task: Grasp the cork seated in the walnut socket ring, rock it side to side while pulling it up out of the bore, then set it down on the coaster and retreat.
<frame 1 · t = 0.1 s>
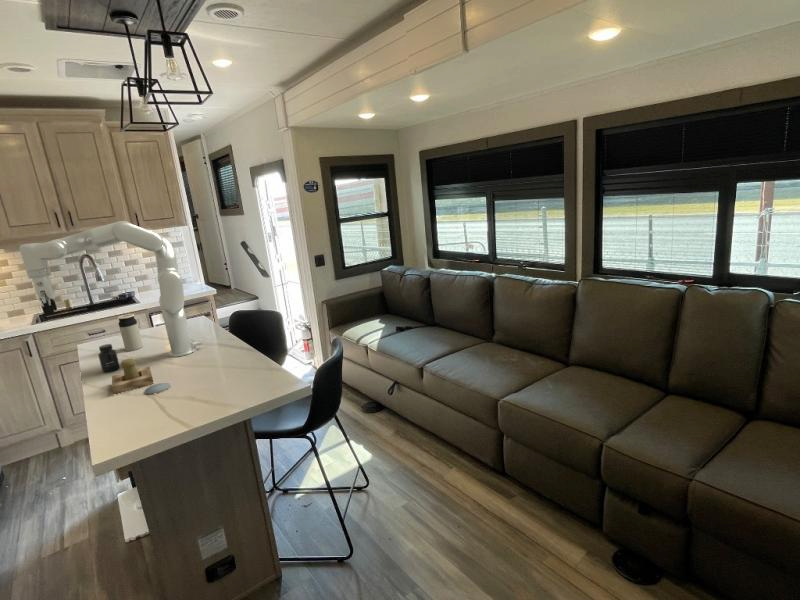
hand: (51, 312, 180), 31 cm above the countertop, tool pointing down, fingers open, 9 cm apart
cork: (133, 384, 178), resting in socket ring
supplement bottle: (111, 370, 196), on the countertop
socket ring: (133, 383, 178), on the countertop
coaster: (157, 389, 171), on the countertop
travel mug: (134, 348, 224), on the countertop
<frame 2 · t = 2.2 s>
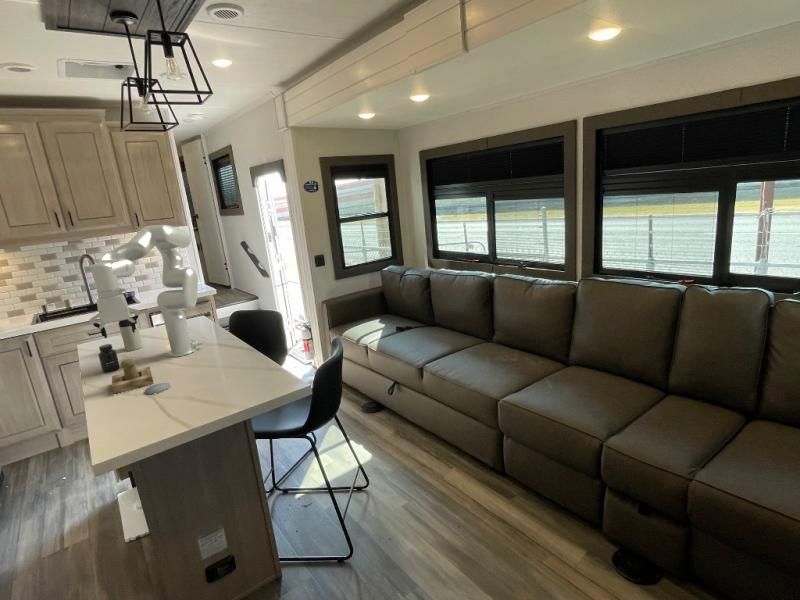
hand: (120, 334, 172), 22 cm above the countertop, tool pointing down, fingers open, 9 cm apart
nothing on the countertop moved.
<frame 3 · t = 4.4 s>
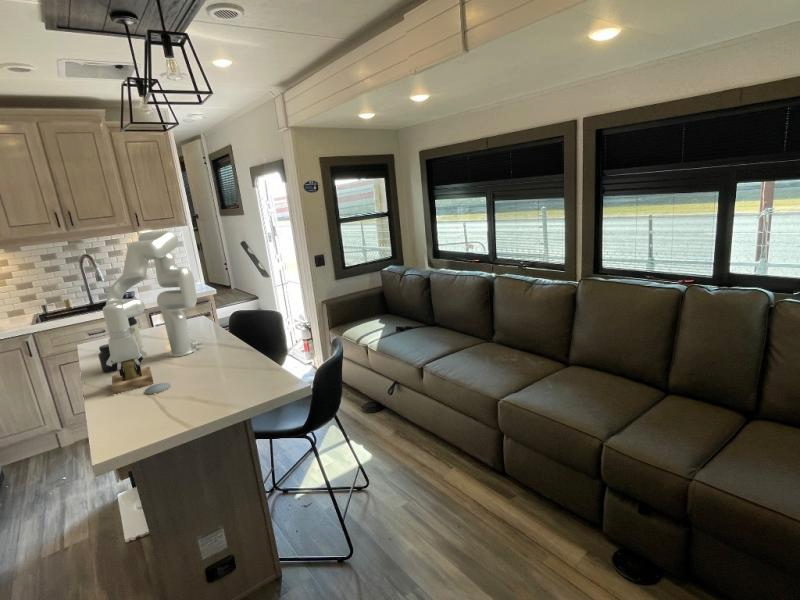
hand: (131, 374, 177), 4 cm above the countertop, tool pointing down, fingers closed on cork, 4 cm apart
cork: (133, 384, 178), resting in socket ring, touching gripper
everything else where it was.
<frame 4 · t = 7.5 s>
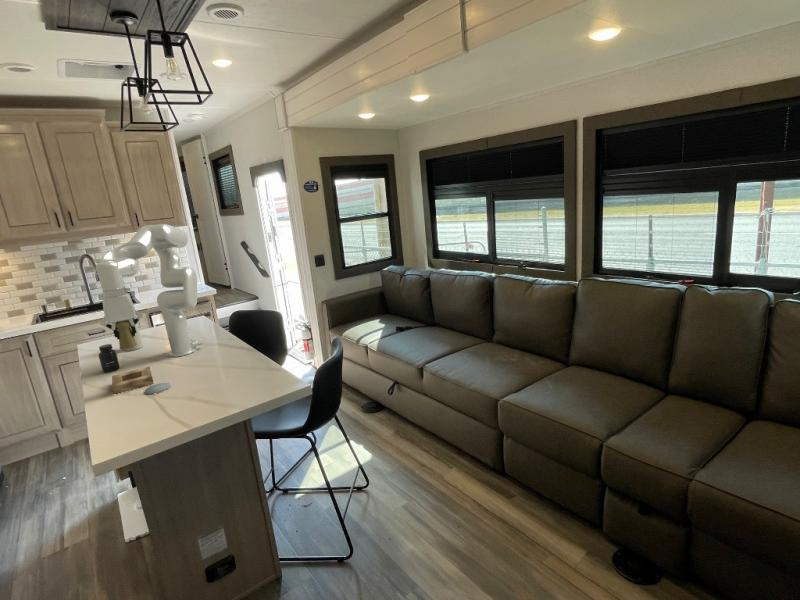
hand: (126, 336, 171), 21 cm above the countertop, tool pointing down, fingers closed on cork, 4 cm apart
cork: (128, 347, 172), point 17 cm above the countertop, touching gripper
everything else where it was.
when the fingers open (6 cm above the countertop, at t = 10.9 s): cork drops 1 cm, resting on coaster.
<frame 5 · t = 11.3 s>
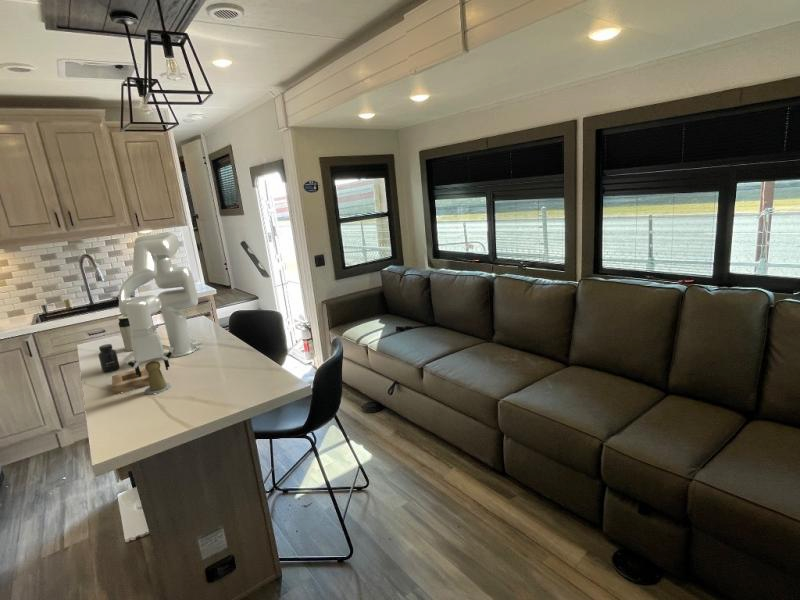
hand: (153, 372, 169), 7 cm above the countertop, tool pointing down, fingers open, 9 cm apart
cork: (158, 388, 171), resting on coaster
everything else where it was.
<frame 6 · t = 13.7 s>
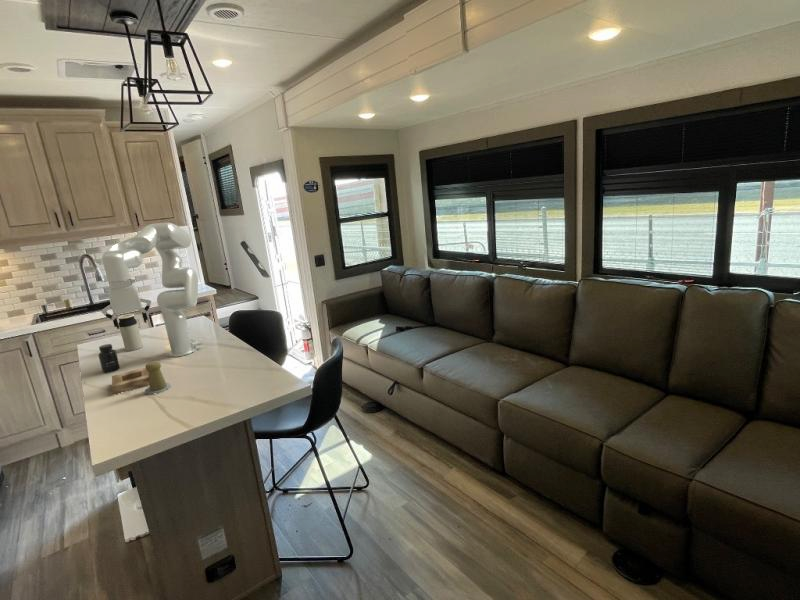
hand: (132, 325, 173), 25 cm above the countertop, tool pointing down, fingers open, 9 cm apart
nothing on the countertop moved.
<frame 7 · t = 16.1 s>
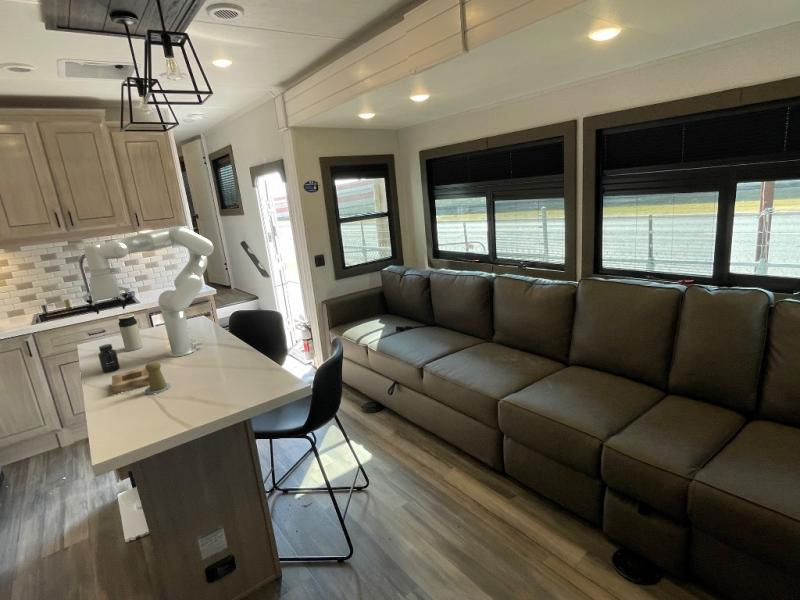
hand: (111, 310, 187), 28 cm above the countertop, tool pointing down, fingers open, 9 cm apart
nothing on the countertop moved.
at the end: cork 0.4 cm from the coaster (horizontally); cork tilted 0°; cork resting on coaster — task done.
